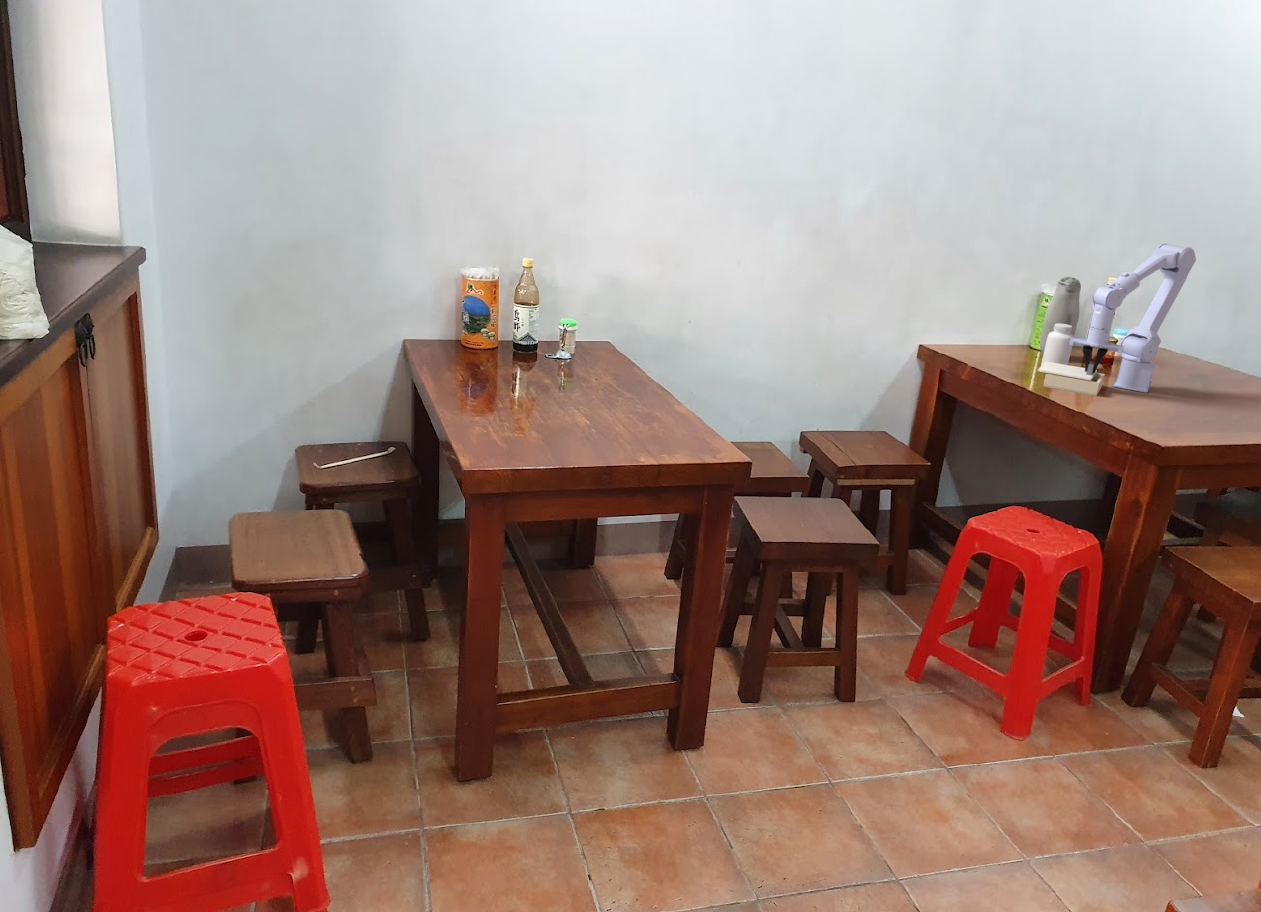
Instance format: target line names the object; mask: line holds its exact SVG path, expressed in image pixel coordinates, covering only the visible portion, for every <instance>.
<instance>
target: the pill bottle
mask: <svg viewBox="0 0 1261 912" xmlns="http://www.w3.org/2000/svg"><path fill="white" fill-rule="evenodd" d="M1071 331H1072V326H1071V325H1067V324H1061V323H1057V324H1055V325H1054V331H1053V332H1050V333H1049V334H1048V337H1047V341H1046V345H1045V350H1044V354H1042V359H1041V365H1040V367H1041V366H1042V365H1043V364H1044V363H1045V362H1052V363H1058V364H1064V365H1069V363H1070V357H1071V353H1072V348H1073V346H1074V345H1069V344H1070V340H1071V338H1075V336H1074V337H1073V335H1071V334H1070V333H1071Z"/></svg>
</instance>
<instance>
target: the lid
mask: <svg viewBox="0 0 1261 912" xmlns="http://www.w3.org/2000/svg"><path fill="white" fill-rule="evenodd" d="M1094 365H1095V362H1093V361H1090V363H1089V365H1088V370H1087V372H1085V367H1080V366H1076V365H1075V366H1074V365H1069V364H1068V365H1064V364H1058V363H1052V362H1045V363H1044V364H1043V365H1042V366H1041V365H1040V367H1039V368H1038V369H1037V372H1040V373H1045V374H1046V373H1051V374H1056V375H1062V376H1068V377H1073V378H1079V379H1084V380H1090V381H1091V379H1092V378H1093V376H1094V375H1095V373H1098V372H1097V371H1098V370H1097V369H1096V372H1095V373H1092V371H1093V368H1094Z"/></svg>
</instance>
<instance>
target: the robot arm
mask: <svg viewBox="0 0 1261 912" xmlns="http://www.w3.org/2000/svg"><path fill="white" fill-rule="evenodd" d="M1196 262H1197V257H1196V252H1195V250H1194V249H1193V248H1192V247H1189V246H1188V247H1187V246H1186V247H1185V246H1180V245H1173V244H1170V243H1166V242H1164V243H1161V244H1159V246H1157V247H1156V248H1154V249H1153V250H1152V253H1151V256H1150V257H1148V258H1147V259H1146V260H1144V261H1143V262H1142V263H1141V264H1140V265H1139V266H1138V267H1137V268H1135V269H1134V270H1133V271H1126V272H1125V271H1123V272H1122V273H1121V274H1120V276H1118V277H1117V278H1116V279H1115V280H1113V281H1112V282H1110V283H1109V284H1108V285H1106V286H1100V287H1098V288H1097V289H1095V291H1094V293H1093V294H1092V295H1091V302H1092V311H1093V312H1092V317H1091V321H1090V325H1089V330H1088V333H1087V334H1088V335H1087V338H1079V337H1078V338H1077V337H1074V338H1071V340H1070V344H1069V345H1073V346H1077V347H1082V355H1083V358H1084V368H1085V372H1087V370H1088V365H1089V363H1090V362H1091V358H1092V354H1093V350H1094V349H1096V350H1097V351H1096V357H1095V360H1094V361H1095V362H1094V363H1095V365H1094V368H1093V371H1092V373H1095V372H1096V370H1097V368H1098V367H1099V364H1100V363H1101V361H1102V360H1103V358H1104V357H1105V356H1106V354H1107V353H1108V352H1116V353H1119V354H1121V355H1120V357H1122V359H1121V363H1120V367H1119V372H1118V375H1117V380H1116V381H1115V382H1114V384H1113V388H1117V389H1124V390H1130V391H1135V392H1141V393H1148V392H1149V390H1150V387H1151V386H1152V382H1153V381H1152V378H1153V375H1154V370H1155V366H1156V363H1155V362H1152V360H1154V358H1155V357H1156V356H1157V354H1158V352H1159V347H1160V344H1161V343H1162V341H1161V338H1160V336H1159V334H1158V331H1159V330H1160V329H1161V326H1162V325H1163V323H1164V321H1165V319H1166V317H1167V315H1168V313H1169V311H1170V310H1171V308H1172V306H1173V305H1174V303H1175V301H1176V299H1177V297H1178V295H1179V294H1180V292H1181V290H1182V288H1183V286H1184V285H1185V282H1186V281H1187V278H1188V276H1189V275H1190V274H1189V273H1190V272H1191V270H1192V268H1193V267H1194V265H1195V263H1196ZM1158 270H1160V272H1161V273H1162V274H1163V277H1164V278H1163V281H1162V282H1161V284H1160V287H1159V288H1158V290H1157V292H1156V294H1154V298H1153V299H1152V300H1151V303H1150V304H1149V306H1148V308H1147V310H1146V312H1145V314H1144V316H1143V318H1141V321H1140V323H1139V324H1138V325H1137V326H1135V327H1133V328H1131V329H1129V330H1128V332H1127V334H1126V335H1125V336H1124V337H1123V338H1122V339H1121V340H1120V342H1119V344H1116V343H1111V342H1109V338H1110V334H1111V330H1112V326H1113V322H1114V318H1115V317H1114V316H1115V313H1116V310H1117V309H1118V308H1120V306H1121V305H1122V304H1123V301H1124V300H1125V299H1126V297H1127V296H1129V295H1130V294H1131V293H1132V292H1133V291H1135V290H1136V289H1138V288H1139V286H1140V284H1141V281H1142V280H1144V279H1146V278H1147V277H1148V276H1150V275H1152V274H1154V273H1156V272H1157V271H1158ZM1096 373H1097V372H1096Z"/></svg>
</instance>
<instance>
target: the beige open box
mask: <svg viewBox="0 0 1261 912" xmlns="http://www.w3.org/2000/svg"><path fill="white" fill-rule="evenodd" d="M1105 375H1106V374H1105V373H1100V372H1096V373H1095V375H1094V376H1093V378H1092V379H1091V381H1090V380H1084V379H1079V378H1073V377H1068V376H1062V375H1056V374H1051V373H1045V375H1044V380H1043V384H1042V385H1043V387H1045V388H1051V389H1055V390H1062V391H1066V392H1072V393H1077V394H1083V395H1088V396H1094V397H1097V395H1098V393H1099V392H1100V390H1102V387H1103V384H1104V380H1105Z"/></svg>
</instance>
